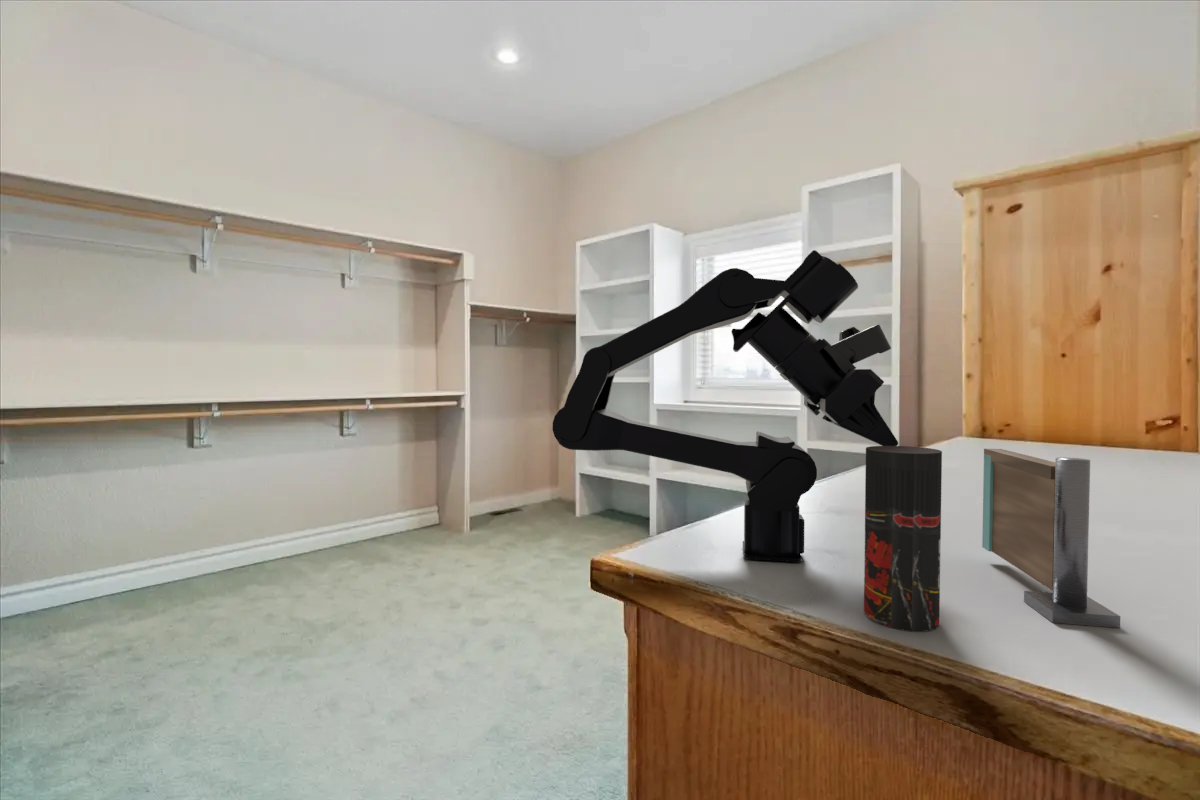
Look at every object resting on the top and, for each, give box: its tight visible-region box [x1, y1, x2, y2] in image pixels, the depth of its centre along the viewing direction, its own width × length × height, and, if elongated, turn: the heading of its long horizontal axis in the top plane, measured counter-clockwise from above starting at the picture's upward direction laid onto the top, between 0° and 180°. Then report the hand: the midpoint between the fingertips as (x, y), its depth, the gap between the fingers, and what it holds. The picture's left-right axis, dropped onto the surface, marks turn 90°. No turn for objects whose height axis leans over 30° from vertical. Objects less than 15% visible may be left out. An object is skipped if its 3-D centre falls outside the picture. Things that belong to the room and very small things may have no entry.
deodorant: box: [863, 445, 943, 633], centre depth 51 cm, size 6×6×15 cm
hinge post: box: [1023, 456, 1121, 629], centre depth 52 cm, size 5×5×14 cm
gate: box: [981, 448, 1055, 592], centre depth 60 cm, size 2×14×12 cm, turn 167°
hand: (891, 445), depth 67 cm, fingers open, 2 cm apart
